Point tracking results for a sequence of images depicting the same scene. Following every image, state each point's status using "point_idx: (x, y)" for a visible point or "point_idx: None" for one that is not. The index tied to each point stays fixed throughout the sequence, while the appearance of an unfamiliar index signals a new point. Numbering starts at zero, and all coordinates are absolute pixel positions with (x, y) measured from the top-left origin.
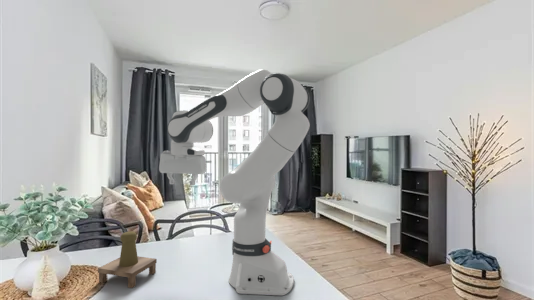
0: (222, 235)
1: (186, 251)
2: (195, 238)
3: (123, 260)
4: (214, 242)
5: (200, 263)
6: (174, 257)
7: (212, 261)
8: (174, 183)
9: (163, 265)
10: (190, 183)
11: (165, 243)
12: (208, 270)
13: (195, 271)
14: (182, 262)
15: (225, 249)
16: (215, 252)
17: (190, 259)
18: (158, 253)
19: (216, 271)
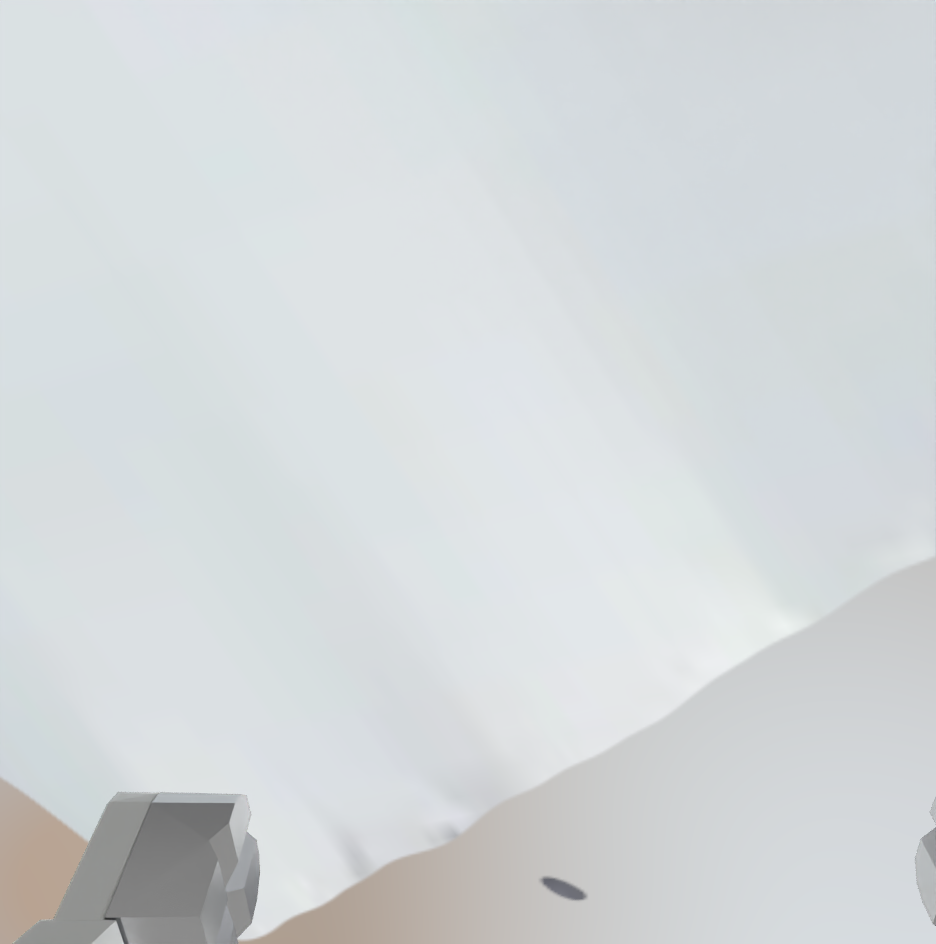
0: (467, 770)
1: (581, 407)
2: (659, 668)
3: None
4: (449, 634)
5: (306, 212)
6: (615, 259)
7: (231, 283)
8: (922, 864)
9: (615, 63)
10: (197, 825)
11: (875, 511)
12: (147, 99)
13: (244, 40)
14: (477, 182)
15: (275, 532)
16: (319, 457)
17: (444, 263)
18: (819, 295)
19: (68, 102)
